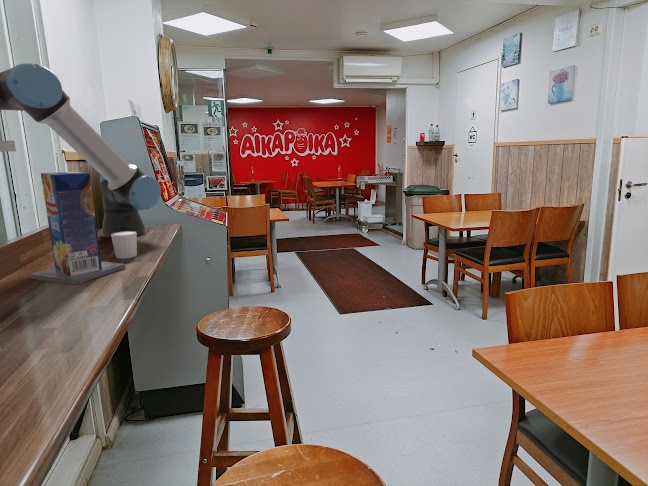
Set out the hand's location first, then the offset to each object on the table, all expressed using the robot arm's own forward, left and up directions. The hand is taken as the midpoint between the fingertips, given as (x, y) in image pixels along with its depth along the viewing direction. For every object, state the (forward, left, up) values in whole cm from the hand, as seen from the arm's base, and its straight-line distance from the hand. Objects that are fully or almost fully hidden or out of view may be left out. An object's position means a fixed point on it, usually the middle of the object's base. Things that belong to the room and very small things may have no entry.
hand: (4, 145), depth 103 cm
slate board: (-4, +14, -32) cm, 35 cm away
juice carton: (-4, +14, -31) cm, 34 cm away
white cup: (-22, +11, -32) cm, 41 cm away
